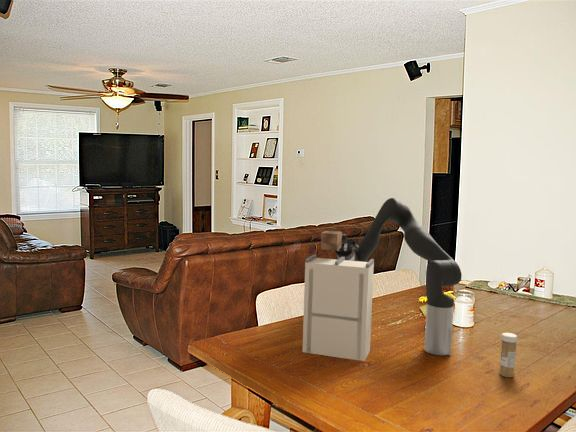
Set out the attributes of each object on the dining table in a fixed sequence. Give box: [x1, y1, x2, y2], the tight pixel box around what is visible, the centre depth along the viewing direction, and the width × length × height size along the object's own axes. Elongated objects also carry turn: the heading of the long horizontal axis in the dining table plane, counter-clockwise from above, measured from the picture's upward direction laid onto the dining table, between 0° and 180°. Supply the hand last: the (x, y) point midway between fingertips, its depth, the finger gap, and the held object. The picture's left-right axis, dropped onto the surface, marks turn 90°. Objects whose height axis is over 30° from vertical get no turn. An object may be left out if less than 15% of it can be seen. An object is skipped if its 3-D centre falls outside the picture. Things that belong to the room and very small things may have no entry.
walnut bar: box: [320, 230, 347, 251], centre depth 194 cm, size 6×22×6 cm, turn 162°
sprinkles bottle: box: [498, 332, 518, 378], centre depth 164 cm, size 5×5×14 cm
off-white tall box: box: [302, 253, 375, 362], centre depth 180 cm, size 22×11×33 cm, turn 72°
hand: (338, 236), depth 197 cm, fingers closed on walnut bar, 3 cm apart
